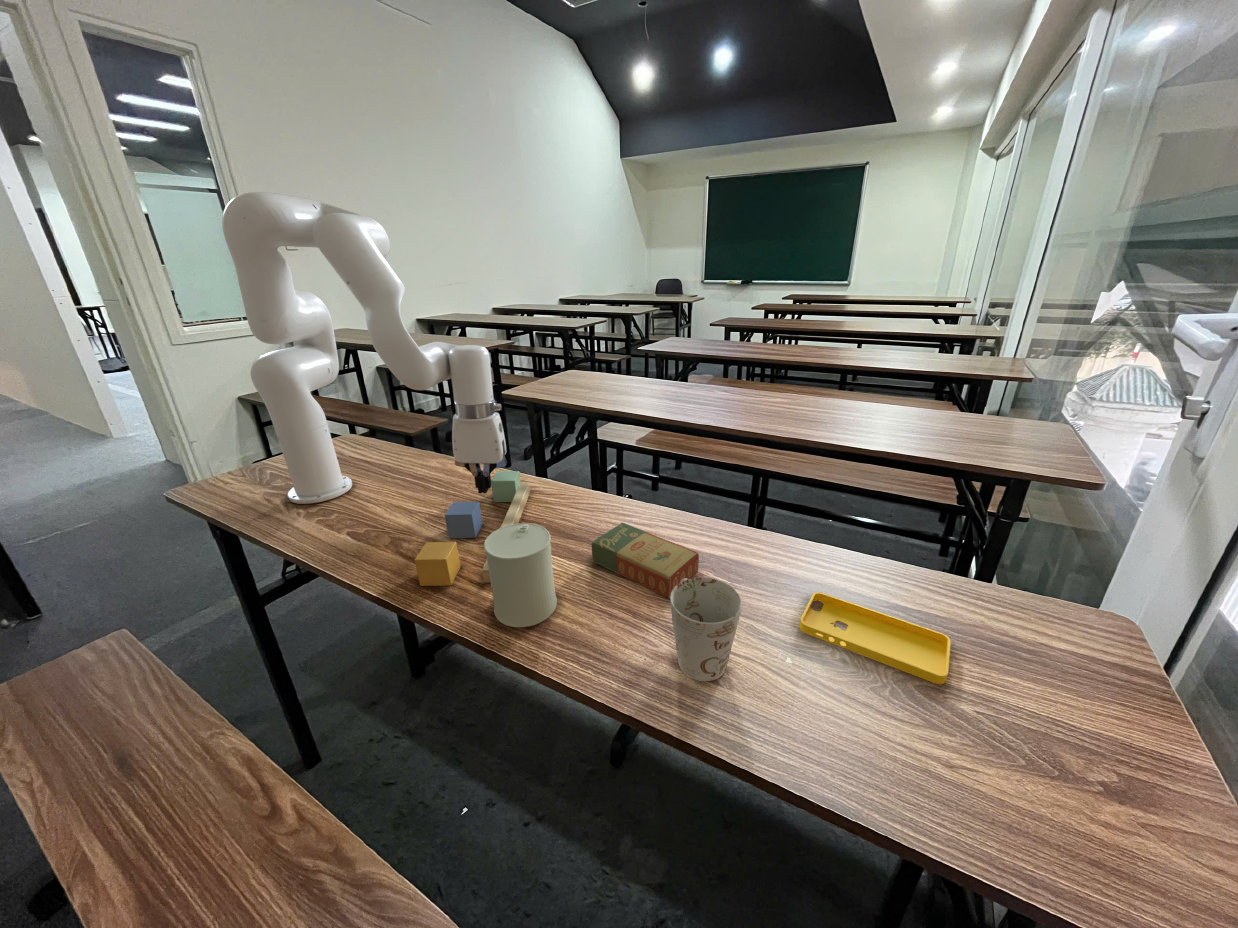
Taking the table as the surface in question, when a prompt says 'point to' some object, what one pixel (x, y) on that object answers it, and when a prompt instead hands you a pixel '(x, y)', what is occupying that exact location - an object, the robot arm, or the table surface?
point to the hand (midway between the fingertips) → (484, 490)
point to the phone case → (879, 637)
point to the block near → (437, 563)
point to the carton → (645, 558)
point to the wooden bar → (511, 517)
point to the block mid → (463, 520)
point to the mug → (704, 625)
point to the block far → (505, 485)
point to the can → (521, 574)
